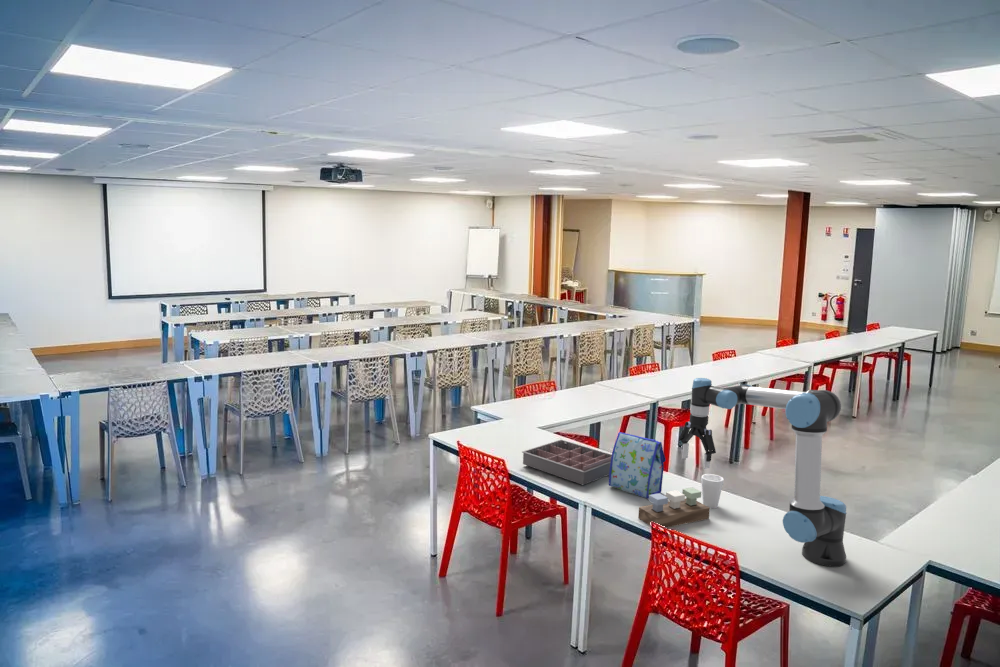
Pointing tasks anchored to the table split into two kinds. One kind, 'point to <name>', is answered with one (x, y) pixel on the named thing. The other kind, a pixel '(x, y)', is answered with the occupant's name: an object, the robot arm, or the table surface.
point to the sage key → (691, 495)
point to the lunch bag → (637, 465)
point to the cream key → (675, 498)
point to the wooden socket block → (674, 514)
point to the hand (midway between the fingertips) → (695, 463)
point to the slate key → (658, 501)
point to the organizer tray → (569, 461)
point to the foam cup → (711, 489)
